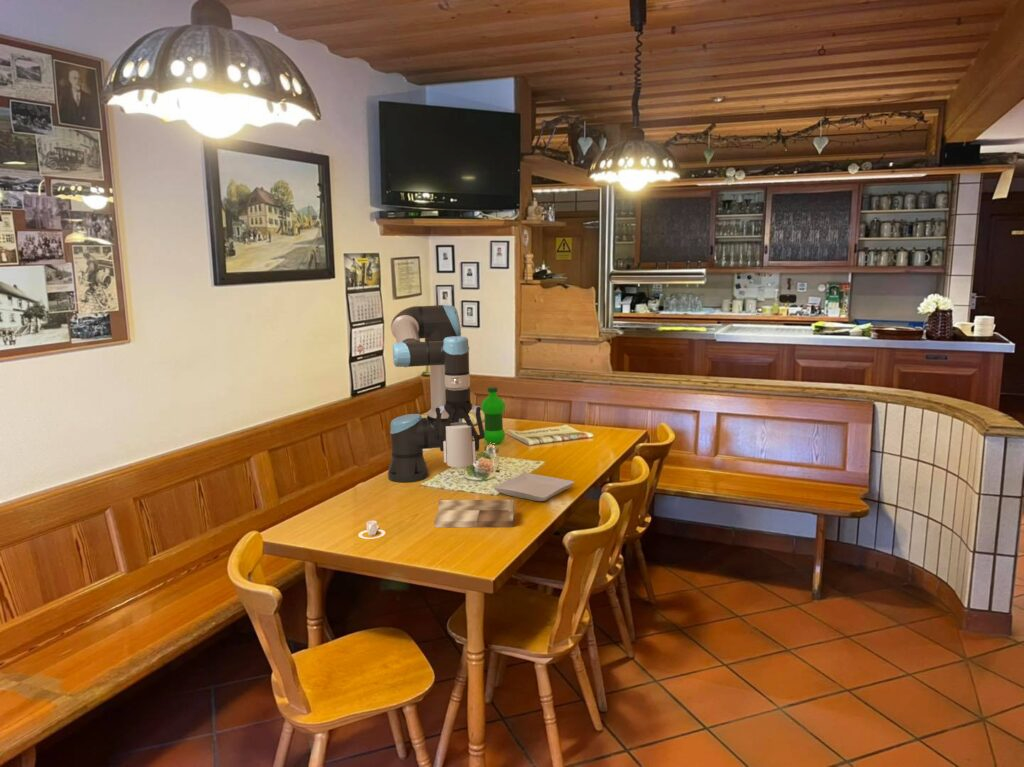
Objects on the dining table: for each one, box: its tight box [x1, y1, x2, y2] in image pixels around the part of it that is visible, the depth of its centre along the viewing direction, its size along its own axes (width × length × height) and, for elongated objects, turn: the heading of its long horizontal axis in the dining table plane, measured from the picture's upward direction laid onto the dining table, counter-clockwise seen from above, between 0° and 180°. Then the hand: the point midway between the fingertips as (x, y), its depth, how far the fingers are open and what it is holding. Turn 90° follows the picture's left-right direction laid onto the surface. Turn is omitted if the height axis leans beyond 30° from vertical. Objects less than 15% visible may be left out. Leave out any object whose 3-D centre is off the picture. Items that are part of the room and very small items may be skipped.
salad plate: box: [493, 472, 575, 502], centre depth 257 cm, size 21×21×3 cm
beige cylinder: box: [446, 421, 475, 468], centre depth 226 cm, size 8×8×12 cm
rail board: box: [433, 499, 516, 529], centre depth 229 cm, size 24×11×5 cm, turn 87°
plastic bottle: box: [480, 386, 506, 445], centre depth 326 cm, size 10×10×25 cm
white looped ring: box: [358, 520, 386, 540], centre depth 221 cm, size 9×8×4 cm
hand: (460, 461), depth 226 cm, fingers closed on beige cylinder, 8 cm apart
